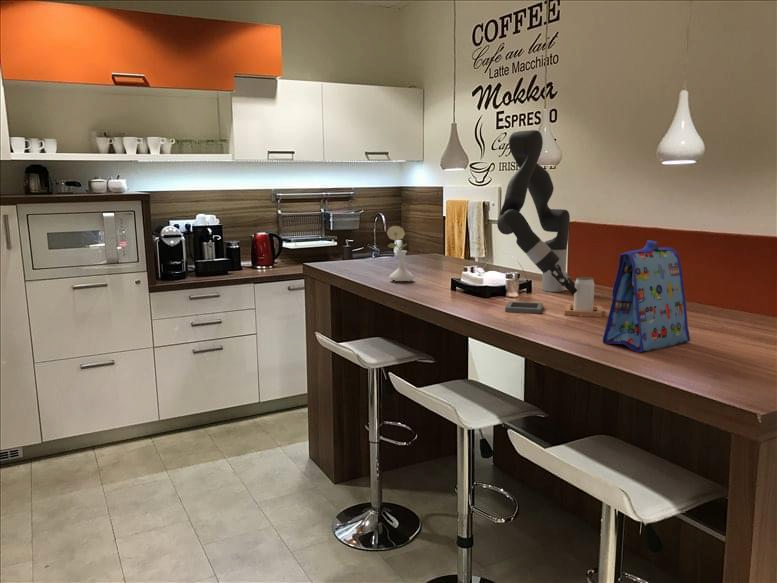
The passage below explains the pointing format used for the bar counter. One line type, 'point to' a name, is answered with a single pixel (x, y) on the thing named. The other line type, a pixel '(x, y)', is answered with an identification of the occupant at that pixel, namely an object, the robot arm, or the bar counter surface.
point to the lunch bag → (648, 300)
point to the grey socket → (510, 305)
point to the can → (584, 294)
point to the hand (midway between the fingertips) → (575, 290)
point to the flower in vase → (401, 272)
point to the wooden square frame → (583, 313)
